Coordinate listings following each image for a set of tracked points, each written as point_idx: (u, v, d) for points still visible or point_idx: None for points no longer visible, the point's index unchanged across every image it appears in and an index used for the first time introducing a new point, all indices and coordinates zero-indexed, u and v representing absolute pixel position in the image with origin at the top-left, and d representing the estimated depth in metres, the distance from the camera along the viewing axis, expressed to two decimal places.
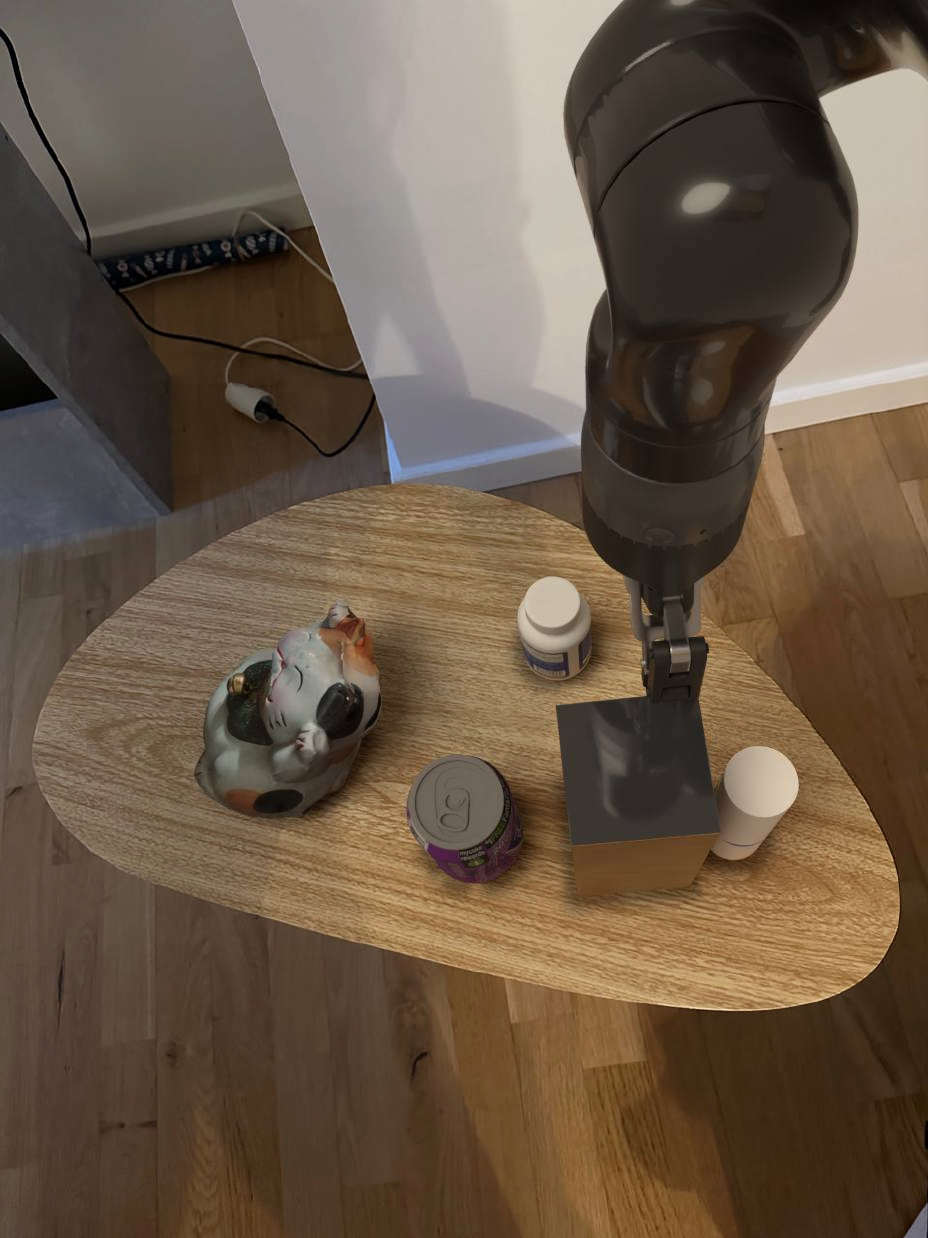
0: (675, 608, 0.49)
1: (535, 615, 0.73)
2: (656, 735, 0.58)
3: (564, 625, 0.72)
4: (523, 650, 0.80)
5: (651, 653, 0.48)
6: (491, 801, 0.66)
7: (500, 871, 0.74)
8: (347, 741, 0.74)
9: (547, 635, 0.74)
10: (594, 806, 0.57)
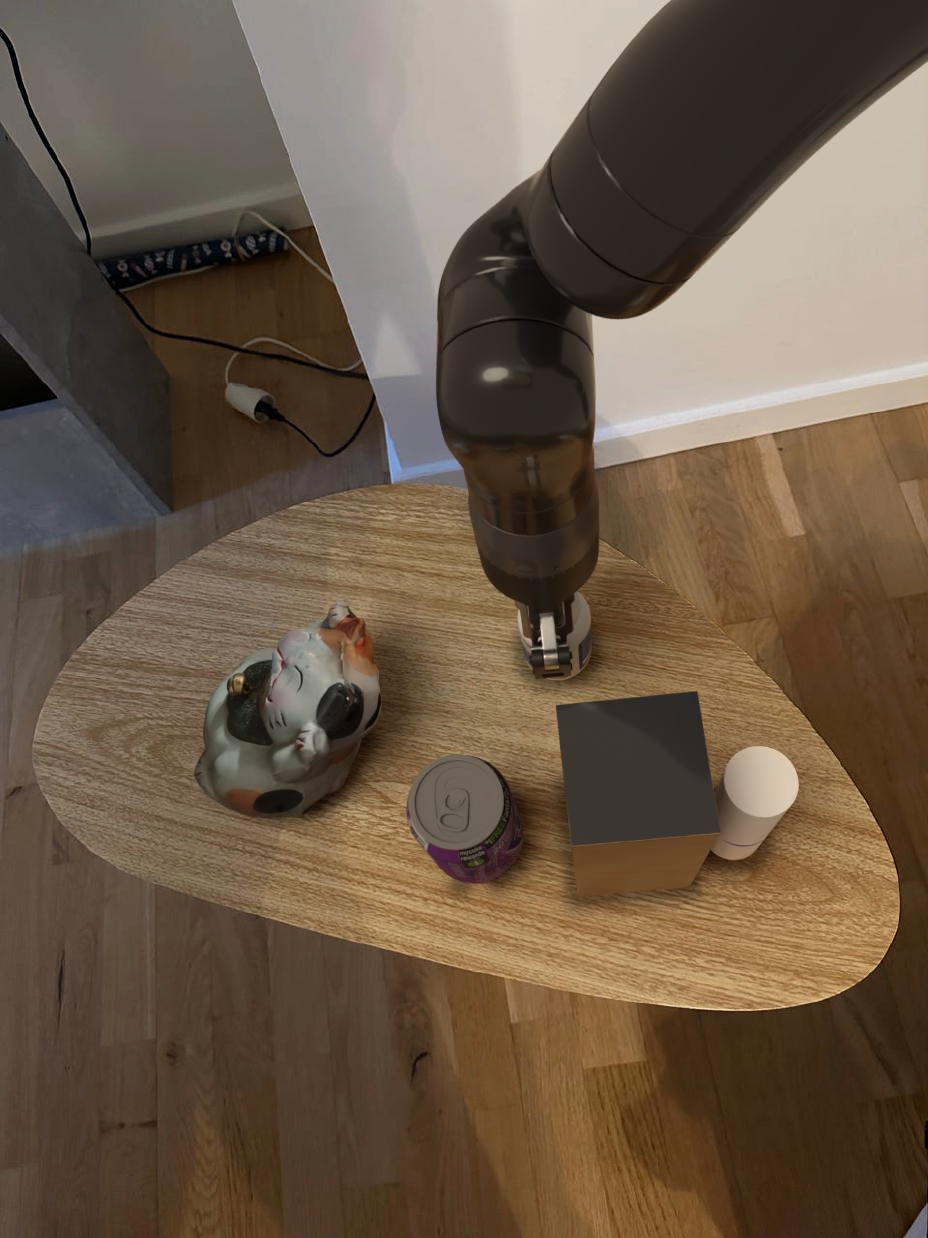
0: (549, 624, 0.66)
1: None
2: (656, 735, 0.58)
3: None
4: (523, 650, 0.80)
5: (530, 660, 0.66)
6: (491, 801, 0.66)
7: (500, 871, 0.74)
8: (347, 741, 0.74)
9: None
10: (594, 806, 0.57)
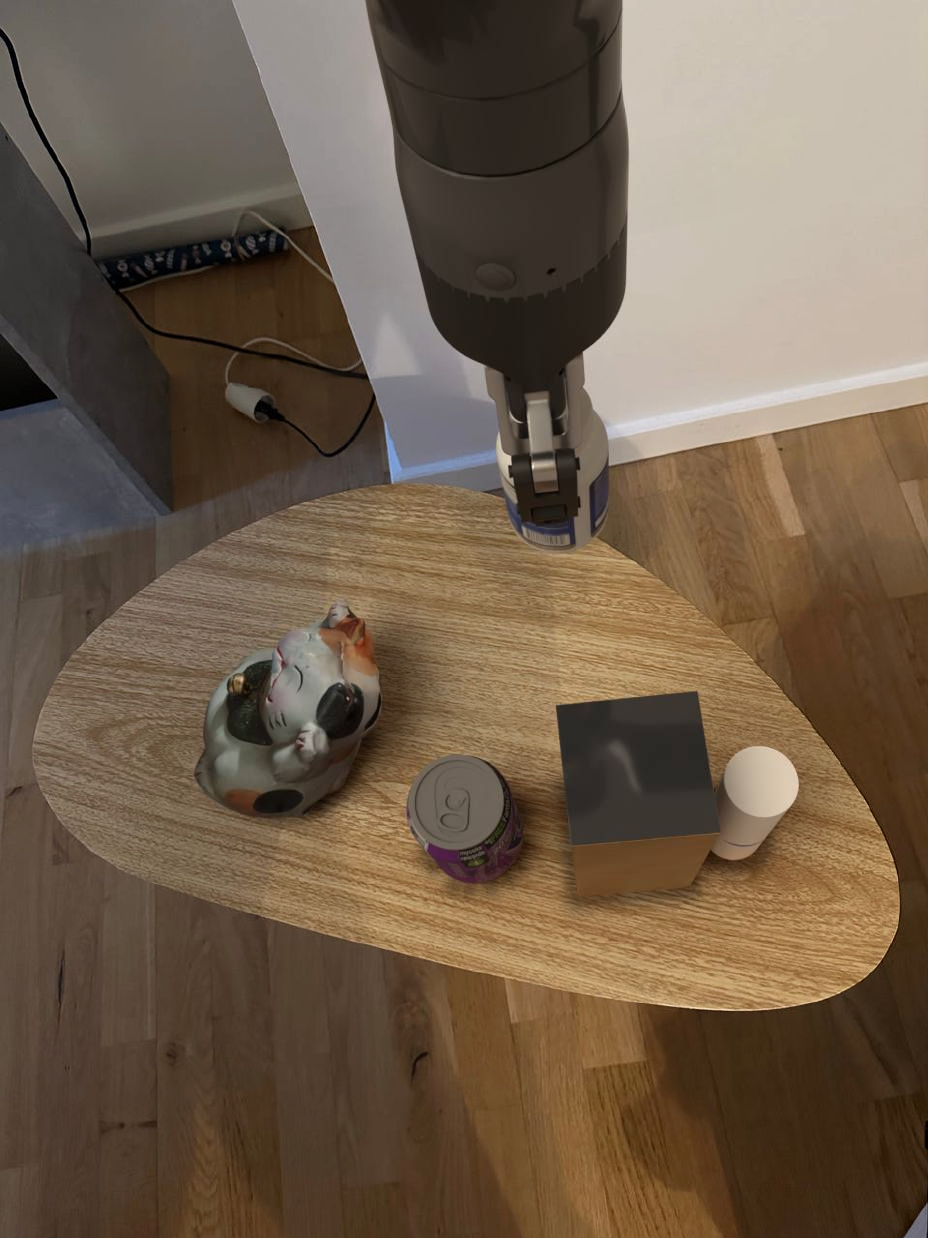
0: (541, 413, 0.39)
1: None
2: (656, 735, 0.58)
3: None
4: (507, 506, 0.53)
5: (509, 471, 0.39)
6: (491, 801, 0.66)
7: (500, 871, 0.74)
8: (347, 741, 0.74)
9: None
10: (594, 806, 0.57)
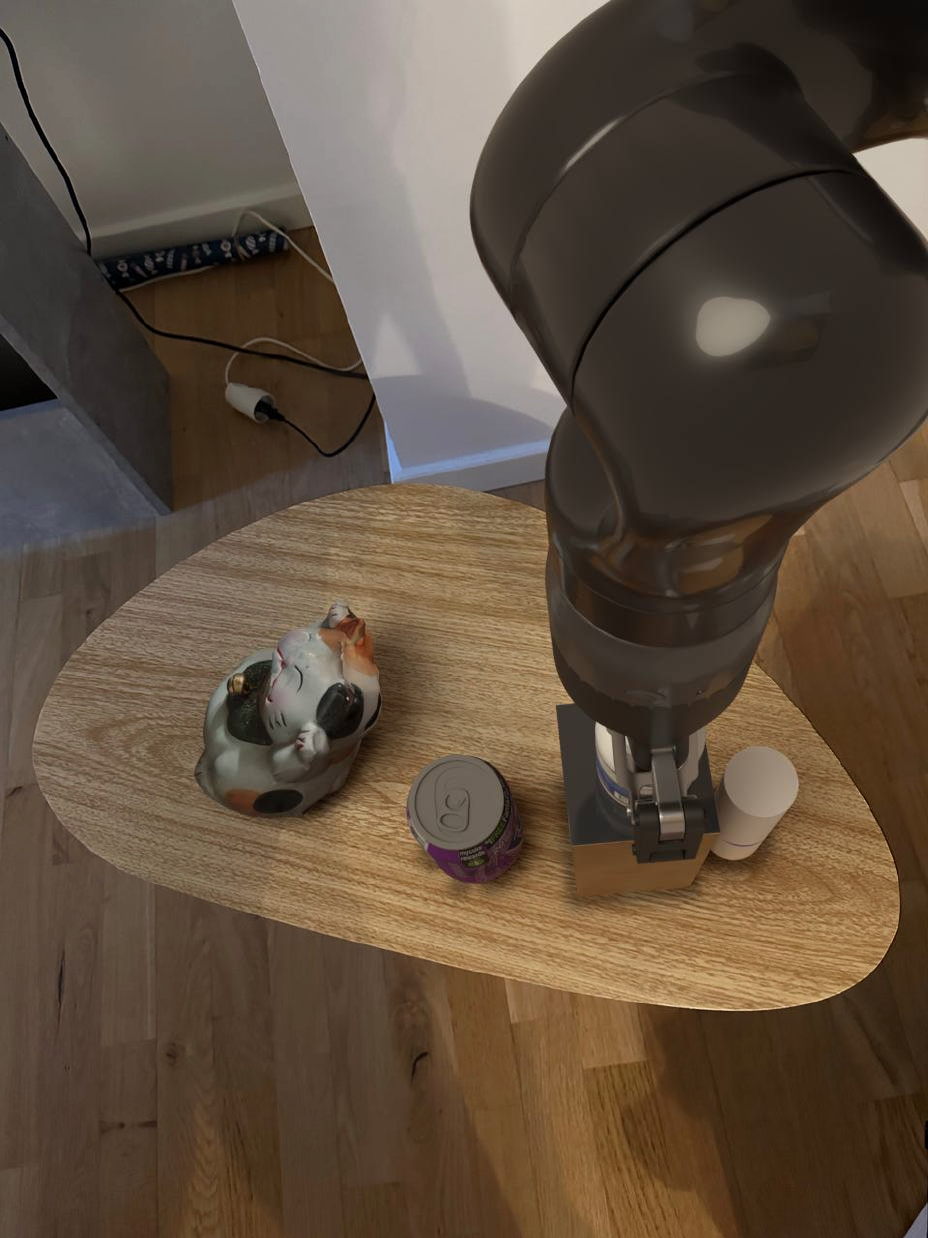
0: (666, 762, 0.40)
1: None
2: None
3: None
4: (599, 769, 0.55)
5: (636, 820, 0.39)
6: (491, 801, 0.66)
7: (500, 871, 0.74)
8: (347, 741, 0.74)
9: None
10: (594, 806, 0.57)
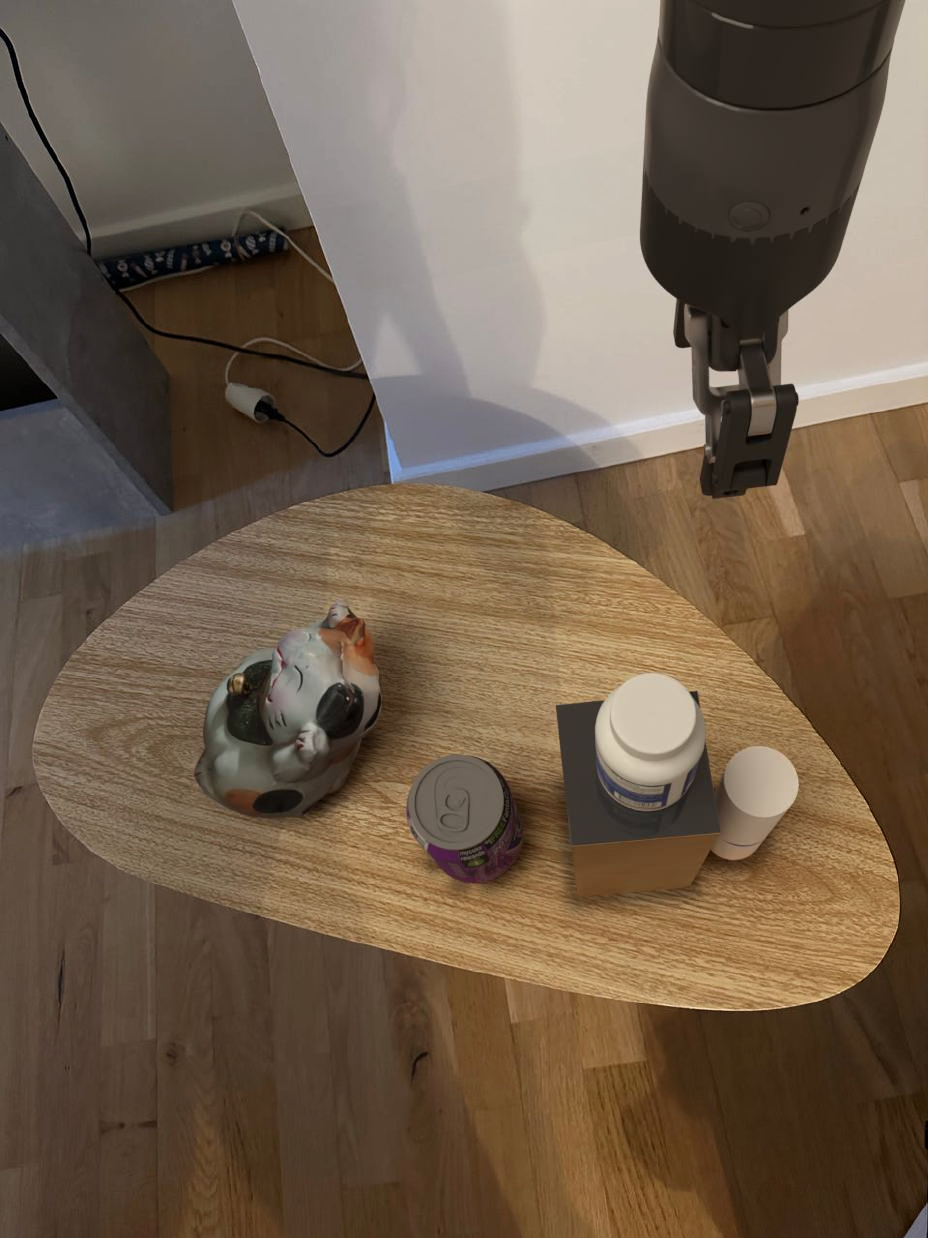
0: (755, 353, 0.40)
1: (628, 734, 0.48)
2: None
3: (673, 749, 0.47)
4: (599, 770, 0.55)
5: (726, 405, 0.39)
6: (491, 801, 0.66)
7: (500, 871, 0.74)
8: (347, 741, 0.74)
9: (643, 760, 0.49)
10: (594, 806, 0.57)
